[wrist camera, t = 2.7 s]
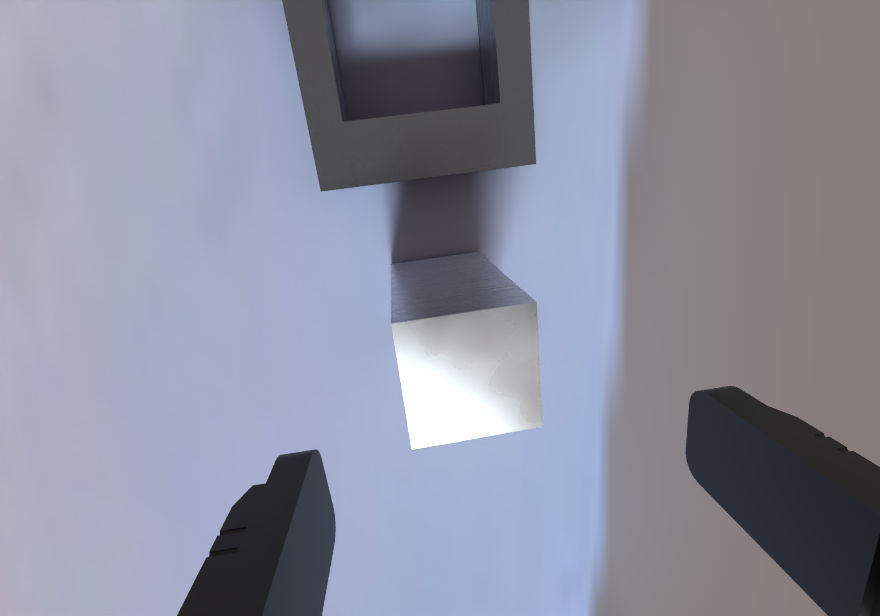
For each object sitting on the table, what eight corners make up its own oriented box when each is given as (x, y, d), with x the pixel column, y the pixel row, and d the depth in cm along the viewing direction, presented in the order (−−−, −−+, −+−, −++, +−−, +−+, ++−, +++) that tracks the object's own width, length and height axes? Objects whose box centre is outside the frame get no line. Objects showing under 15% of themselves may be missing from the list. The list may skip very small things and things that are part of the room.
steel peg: (404, 345, 20) (412, 449, 12) (391, 264, 19) (390, 324, 11) (486, 332, 20) (542, 426, 13) (478, 251, 19) (536, 301, 11)
